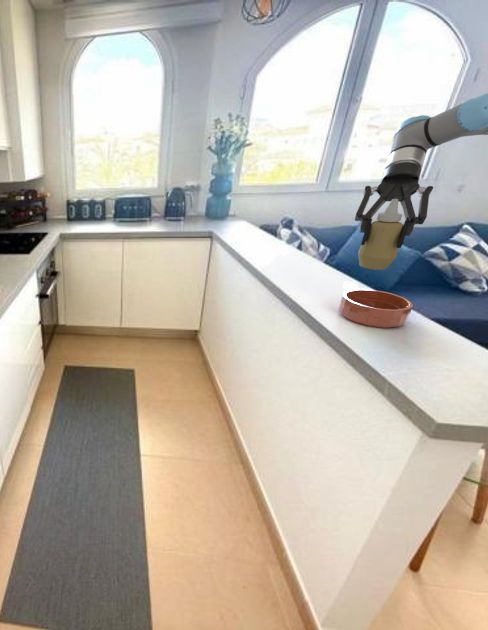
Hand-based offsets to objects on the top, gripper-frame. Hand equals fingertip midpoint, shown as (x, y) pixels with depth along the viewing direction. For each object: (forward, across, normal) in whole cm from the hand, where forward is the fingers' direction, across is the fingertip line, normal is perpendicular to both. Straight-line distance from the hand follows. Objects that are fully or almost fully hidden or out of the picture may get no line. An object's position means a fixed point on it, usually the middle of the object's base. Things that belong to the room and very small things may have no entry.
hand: (381, 243), depth 89 cm
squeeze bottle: (+3, 0, -8) cm, 8 cm away
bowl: (+15, -3, -14) cm, 20 cm away
